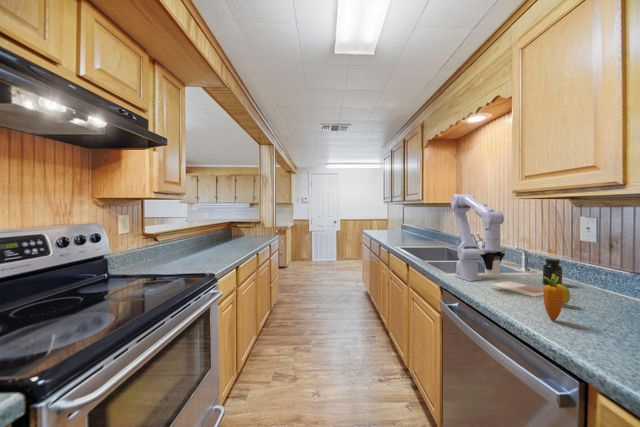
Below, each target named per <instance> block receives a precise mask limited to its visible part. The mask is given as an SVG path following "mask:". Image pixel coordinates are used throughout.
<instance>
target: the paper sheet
mask: <svg viewBox="0 0 640 427" xmlns="http://www.w3.org/2000/svg"><path fill="white" fill-rule="evenodd" d="M491 286H494V287H496V288H501V289H504V290H508V291H512V292H515V293H519V294H522V295H526V296H529V297H532V298H533V297H534V298H537V297H542V296H544V293H543V289H544V288H539V287H535V286H531V285H528V284H525V283H524V284H523V283H519V282H515V281H511V280H508V281H502V282H497V283H491Z"/></svg>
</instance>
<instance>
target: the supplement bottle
mask: <svg viewBox="0 0 640 427" xmlns="http://www.w3.org/2000/svg"><path fill="white" fill-rule="evenodd" d="M560 262H561V261H560V259H557V258H545V263H544V264H543V265H542V284H543V285H544V286H546V285H550V283H549V282H548V281H547V280H546V279H544V277H547V278H548V279H549V280H551V277H552V274H555V275H556V277H559V280H558V282H557V284H556V285H558V284H561V285H563V267H562V266H561V265H560Z"/></svg>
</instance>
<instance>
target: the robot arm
mask: <svg viewBox="0 0 640 427" xmlns="http://www.w3.org/2000/svg"><path fill="white" fill-rule="evenodd" d="M450 205H451V210H452V211H453V213H454V216H455V220H456V225H457V229H458V234H459V237H460V241H461V243H459V244H458V246H457V248H456V249H457V258H458V259H459V260H457V261H456V265H455V266H456V268H455V275H454V277H455V278H459V279H462V280H466V281H469V282H474V281H480V280H483V278H481V277H478V276H479V271H478V270H479V268H478V266H479V265H478V264H479V262H480V260H483V263H484V268H485V267H486V269H487V270H492V265H493V260H494V257H495V255H496V256H500V264H502V263H501V262H502V260H503V259H504V257H505V256H506V251H507V250H506V247H502V246H501V225H502V224H504V220H505V216H504V214H503V212H501V211H499V210H494V209H493V208H491V207H490V206H488V204H486V203H480V202H479V201H478V200H477V199H476V196H475V195H473V194H471V193H465V194H459V193H458V194H456V193H454V194H453V195H451V198H450ZM471 208H472V209H473V210H474V213H475V214H476V215H477V216H479V217H480V219H481V221H482V223H483V228H484V247H482V248H480V247H479V244H477V242H475V241H473V237H472V233H471V229H470V224H469V221H468V216H467V213H468V212H469V211H470V210H471Z"/></svg>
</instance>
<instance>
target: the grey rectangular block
mask: <svg viewBox="0 0 640 427" xmlns="http://www.w3.org/2000/svg"><path fill="white" fill-rule="evenodd" d="M484 274H487V275H490V276H497V275H501V263H500V256H496V255H495V257H494V260H493V265H492V270H487V269H486V267H485V266H484Z"/></svg>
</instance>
